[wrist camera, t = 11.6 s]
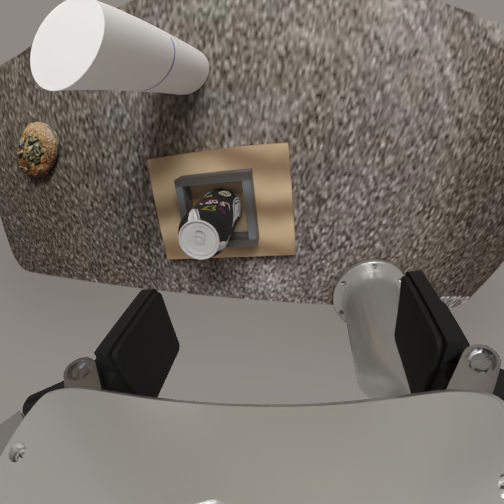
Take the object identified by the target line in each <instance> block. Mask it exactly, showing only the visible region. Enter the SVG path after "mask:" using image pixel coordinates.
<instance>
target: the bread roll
mask: <svg viewBox="0 0 504 504" xmlns="http://www.w3.org/2000/svg"><path fill="white" fill-rule="evenodd" d="M58 153H59V141H58V138H57V133H56V132H55V131H54V130H53V129H52V128H51V127H49V126H48V125H47V124H45V123H42V122H34V123H30V124H28V125H27V127H26V128H25V130H24V131H23V134H22V137H21V139H20V142H19V148H18V159H19V165H20V168H21V169H22V170H23V172H24V173H25V174H26V175H28V176H29V177H32V178H43V177H46V176H47V175H48V174H49V173H50V172H51V171H52V169H53V168H54V166H55V163H56V157H57V155H58Z"/></svg>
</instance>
